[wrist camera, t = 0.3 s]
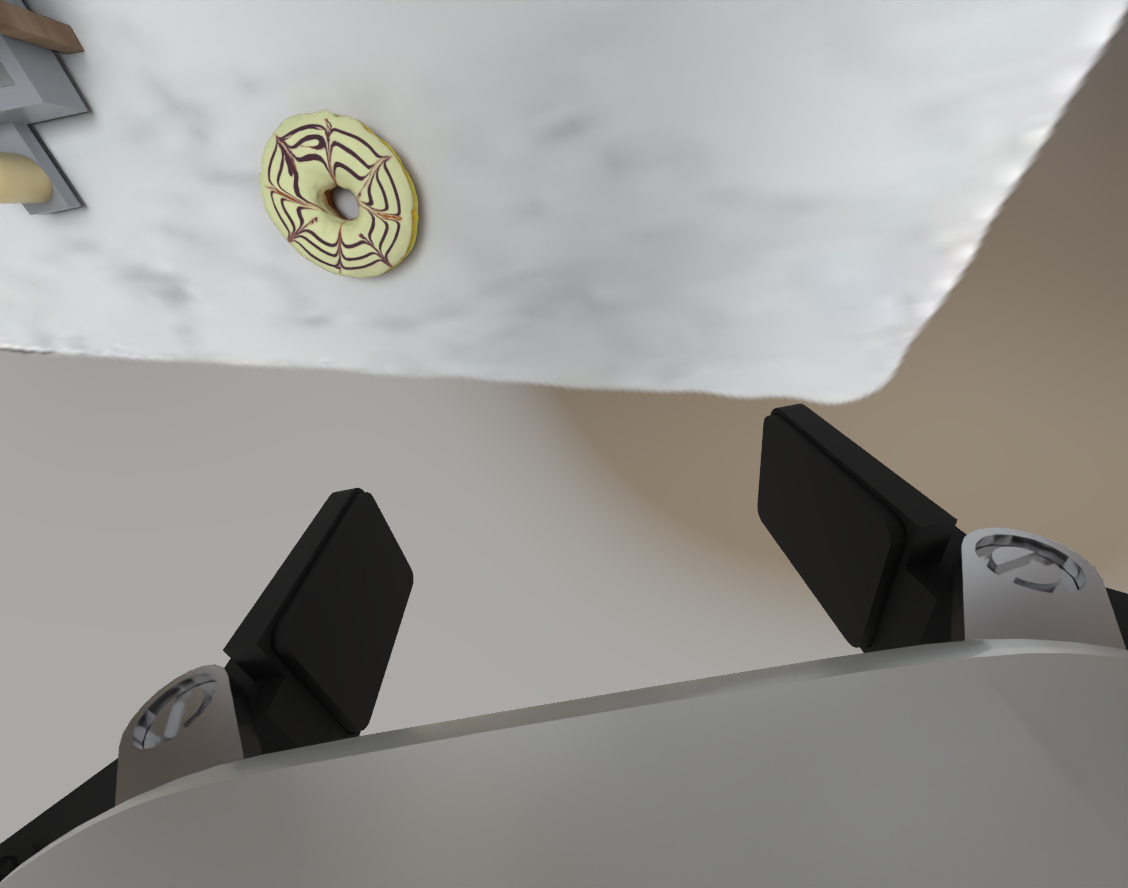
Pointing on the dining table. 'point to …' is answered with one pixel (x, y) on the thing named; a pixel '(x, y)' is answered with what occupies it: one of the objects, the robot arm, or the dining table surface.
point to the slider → (4, 141)
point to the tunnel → (37, 29)
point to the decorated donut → (354, 162)
